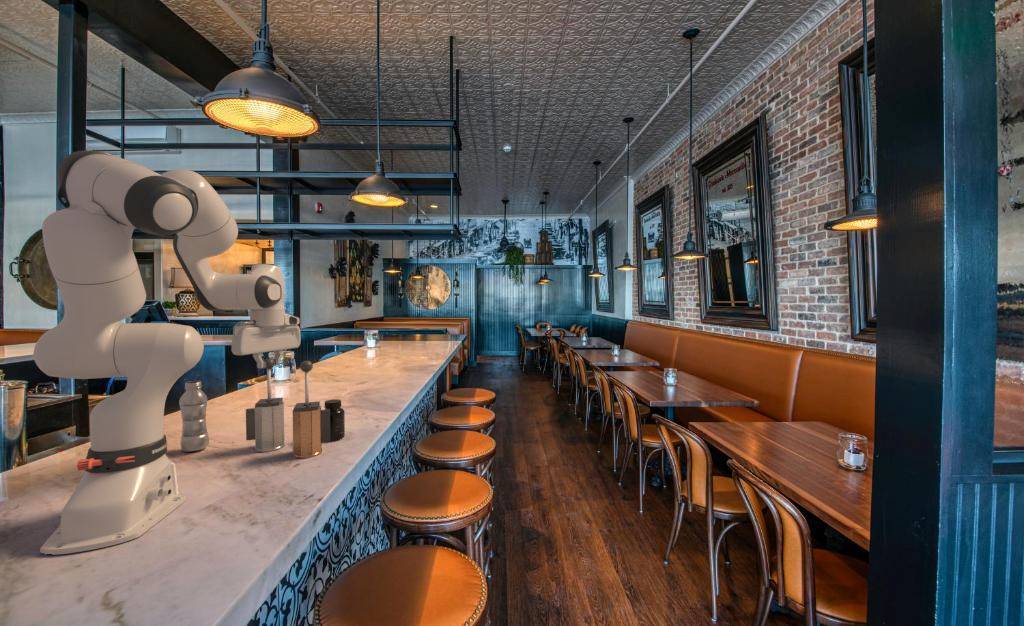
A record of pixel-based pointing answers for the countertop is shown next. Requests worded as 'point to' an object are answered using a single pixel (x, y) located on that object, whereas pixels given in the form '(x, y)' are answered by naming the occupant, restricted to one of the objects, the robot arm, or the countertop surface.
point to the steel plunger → (269, 375)
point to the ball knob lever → (306, 378)
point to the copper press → (310, 429)
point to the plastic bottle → (193, 418)
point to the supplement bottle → (336, 419)
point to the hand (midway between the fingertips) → (268, 366)
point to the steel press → (266, 424)
